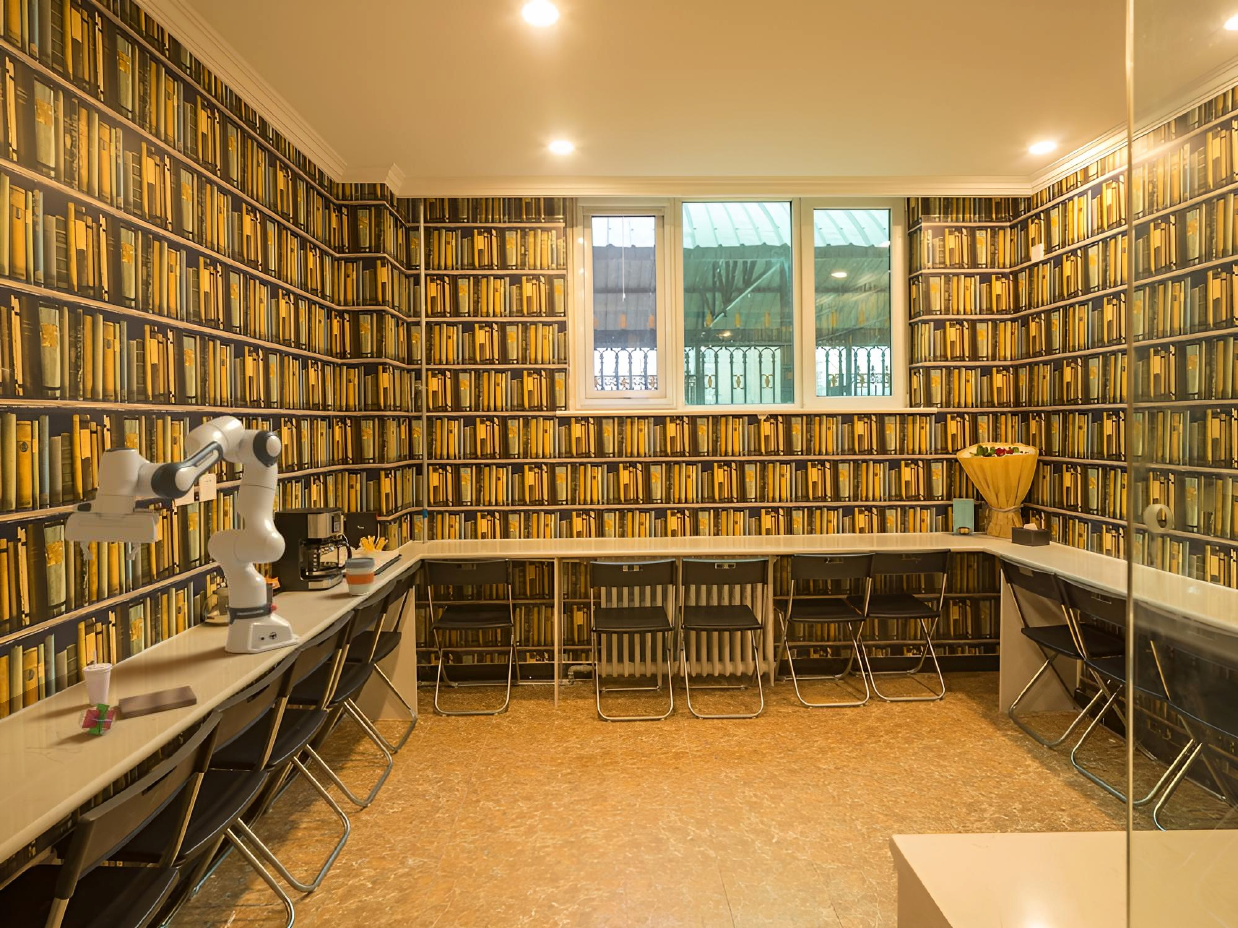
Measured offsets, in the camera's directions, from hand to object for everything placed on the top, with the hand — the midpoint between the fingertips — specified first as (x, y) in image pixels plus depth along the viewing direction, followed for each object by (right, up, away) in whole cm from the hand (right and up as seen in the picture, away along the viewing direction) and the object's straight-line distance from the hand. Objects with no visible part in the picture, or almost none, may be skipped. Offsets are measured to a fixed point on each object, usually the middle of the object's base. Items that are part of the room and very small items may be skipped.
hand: (109, 559), depth 191 cm
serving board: (+14, -37, -2) cm, 40 cm away
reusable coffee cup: (+21, -32, +128) cm, 134 cm away
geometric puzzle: (+11, -39, -19) cm, 45 cm away
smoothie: (-2, -38, -1) cm, 38 cm away
